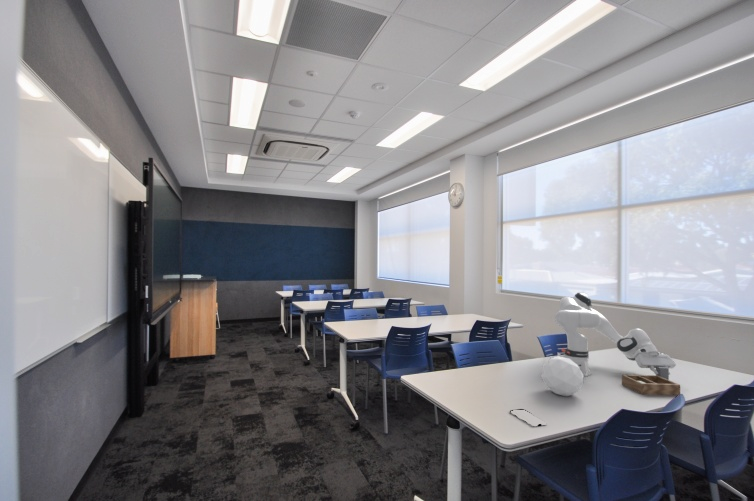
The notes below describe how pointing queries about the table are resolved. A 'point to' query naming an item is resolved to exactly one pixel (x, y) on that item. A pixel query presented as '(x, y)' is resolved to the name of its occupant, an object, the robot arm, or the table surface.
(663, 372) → the connector
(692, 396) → the table surface
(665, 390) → the parts box
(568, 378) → the geometric polyhedron
